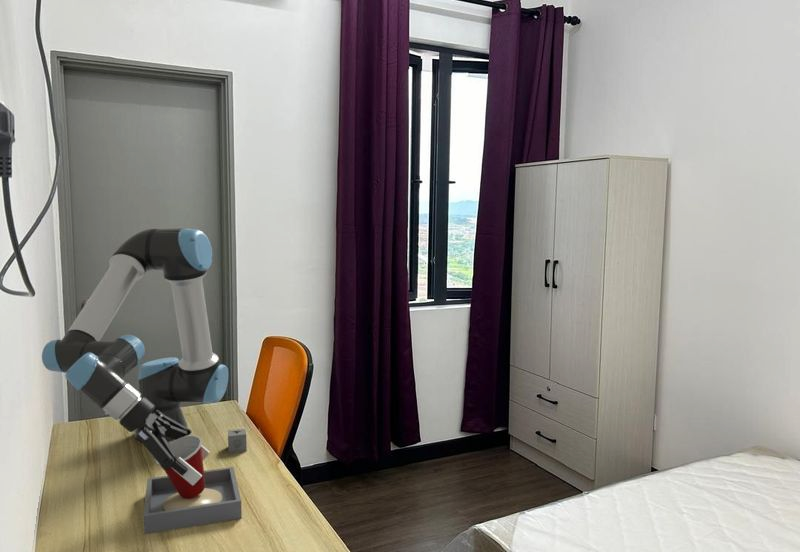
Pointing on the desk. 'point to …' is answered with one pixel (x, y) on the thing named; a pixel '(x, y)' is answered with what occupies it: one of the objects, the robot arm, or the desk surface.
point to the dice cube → (237, 440)
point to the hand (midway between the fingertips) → (202, 468)
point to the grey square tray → (191, 502)
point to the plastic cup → (192, 455)
